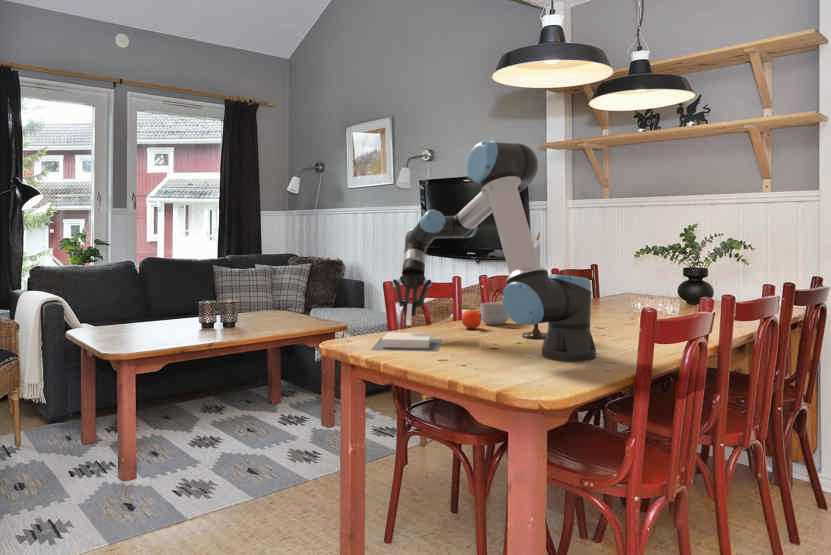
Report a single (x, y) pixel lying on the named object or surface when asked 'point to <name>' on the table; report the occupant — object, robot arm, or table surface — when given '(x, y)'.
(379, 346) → the mat
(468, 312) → the clementine
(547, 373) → the table surface
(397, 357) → the table surface
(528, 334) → the candlestick
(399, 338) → the tile
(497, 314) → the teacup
